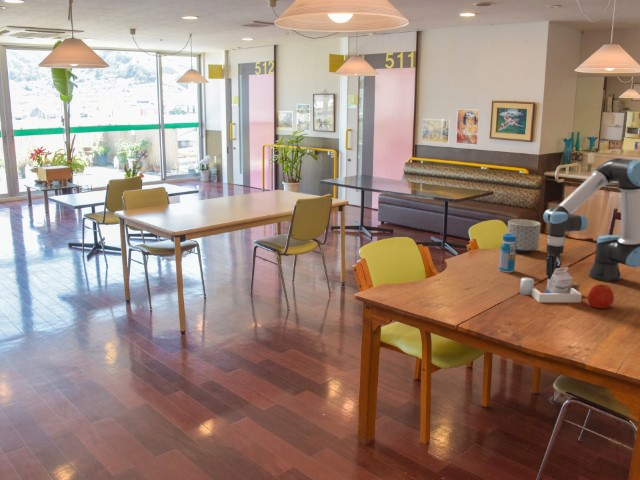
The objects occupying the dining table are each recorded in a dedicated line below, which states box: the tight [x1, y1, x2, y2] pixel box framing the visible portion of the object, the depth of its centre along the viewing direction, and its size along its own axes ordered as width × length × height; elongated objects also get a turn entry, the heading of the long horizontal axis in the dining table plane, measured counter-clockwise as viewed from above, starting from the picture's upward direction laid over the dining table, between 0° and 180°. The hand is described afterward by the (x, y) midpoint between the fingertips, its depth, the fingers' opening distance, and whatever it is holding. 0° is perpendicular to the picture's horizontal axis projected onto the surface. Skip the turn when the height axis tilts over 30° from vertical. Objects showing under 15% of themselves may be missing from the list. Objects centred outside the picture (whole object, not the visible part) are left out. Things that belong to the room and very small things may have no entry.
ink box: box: [544, 266, 574, 293], centre depth 288 cm, size 8×5×15 cm, turn 112°
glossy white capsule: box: [519, 276, 535, 296], centre depth 296 cm, size 6×6×7 cm
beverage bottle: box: [498, 233, 517, 273], centre depth 331 cm, size 8×8×20 cm
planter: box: [506, 218, 542, 254], centre depth 374 cm, size 19×19×18 cm
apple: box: [587, 283, 615, 309], centre depth 278 cm, size 11×11×11 cm
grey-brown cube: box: [566, 281, 580, 293], centre depth 297 cm, size 5×5×5 cm
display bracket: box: [531, 287, 583, 303], centre depth 288 cm, size 20×9×4 cm, turn 92°
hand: (549, 291), depth 295 cm, fingers closed
